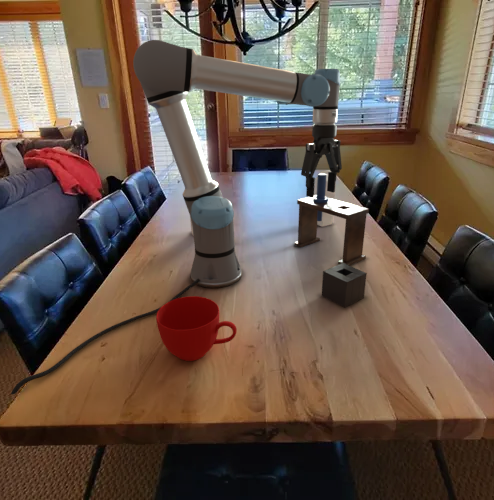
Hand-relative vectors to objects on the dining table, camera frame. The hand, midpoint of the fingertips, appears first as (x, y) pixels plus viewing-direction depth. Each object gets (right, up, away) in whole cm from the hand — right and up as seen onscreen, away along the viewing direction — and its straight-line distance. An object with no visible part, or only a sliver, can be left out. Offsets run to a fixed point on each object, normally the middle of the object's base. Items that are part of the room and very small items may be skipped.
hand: (320, 194), depth 125 cm
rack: (+3, -19, +4) cm, 20 cm away
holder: (+2, -31, -24) cm, 39 cm away
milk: (+6, -8, +31) cm, 32 cm away
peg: (0, -2, +1) cm, 2 cm away
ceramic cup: (-34, -41, -44) cm, 69 cm away
